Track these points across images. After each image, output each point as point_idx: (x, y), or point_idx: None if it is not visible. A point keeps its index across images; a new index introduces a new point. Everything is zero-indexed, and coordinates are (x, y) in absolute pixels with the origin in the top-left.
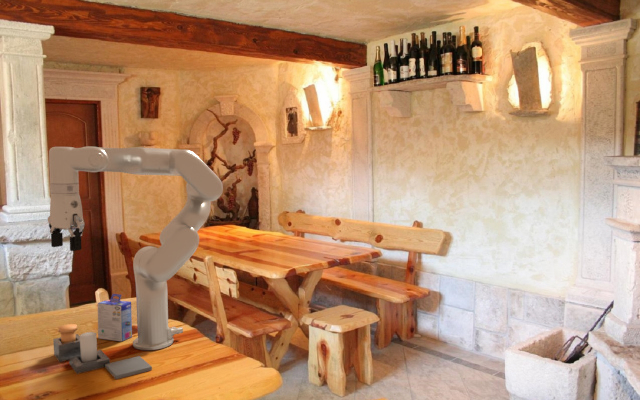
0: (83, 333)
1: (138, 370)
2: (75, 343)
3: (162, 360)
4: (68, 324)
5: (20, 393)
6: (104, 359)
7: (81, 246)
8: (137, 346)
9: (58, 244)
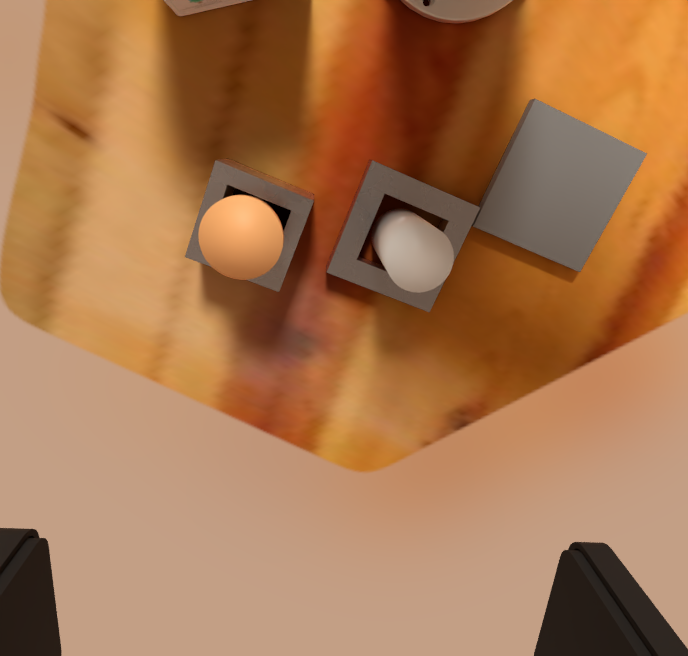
0: (386, 258)
1: (619, 200)
2: (301, 231)
3: (621, 59)
4: (209, 214)
5: (395, 457)
6: (466, 221)
7: (627, 570)
8: (453, 20)
9: (41, 619)
